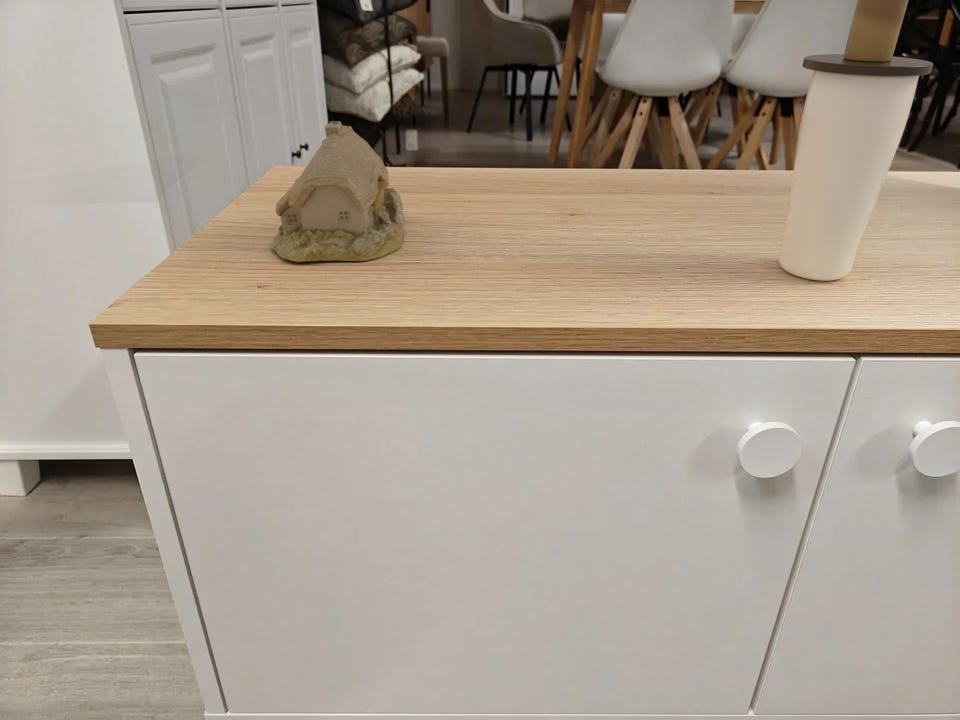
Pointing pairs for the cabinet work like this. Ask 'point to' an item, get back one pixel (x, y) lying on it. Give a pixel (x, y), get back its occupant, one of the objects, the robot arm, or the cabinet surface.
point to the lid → (872, 44)
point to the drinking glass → (841, 168)
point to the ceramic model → (340, 204)
